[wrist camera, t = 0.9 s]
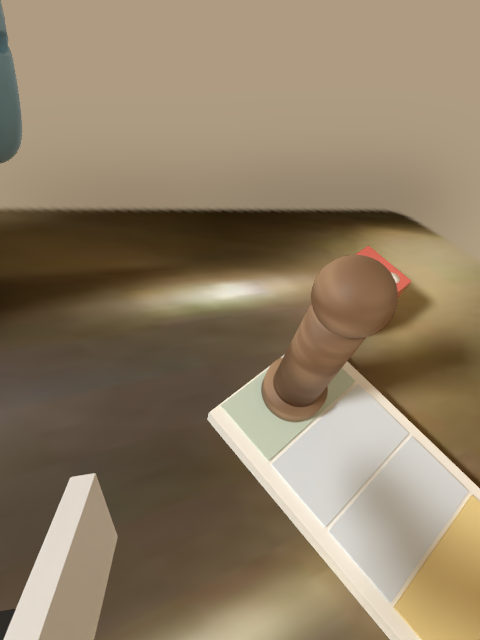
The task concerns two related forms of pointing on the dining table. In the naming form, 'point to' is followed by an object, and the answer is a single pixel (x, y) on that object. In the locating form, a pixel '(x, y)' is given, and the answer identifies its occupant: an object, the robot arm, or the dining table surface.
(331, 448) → the board
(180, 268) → the dining table surface
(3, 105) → the robot arm
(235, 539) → the dining table surface
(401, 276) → the die
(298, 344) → the pawn
